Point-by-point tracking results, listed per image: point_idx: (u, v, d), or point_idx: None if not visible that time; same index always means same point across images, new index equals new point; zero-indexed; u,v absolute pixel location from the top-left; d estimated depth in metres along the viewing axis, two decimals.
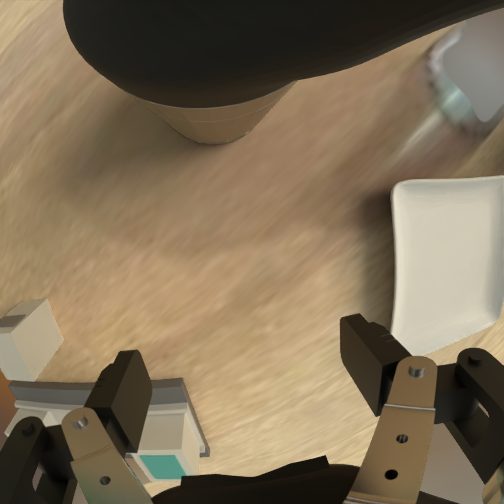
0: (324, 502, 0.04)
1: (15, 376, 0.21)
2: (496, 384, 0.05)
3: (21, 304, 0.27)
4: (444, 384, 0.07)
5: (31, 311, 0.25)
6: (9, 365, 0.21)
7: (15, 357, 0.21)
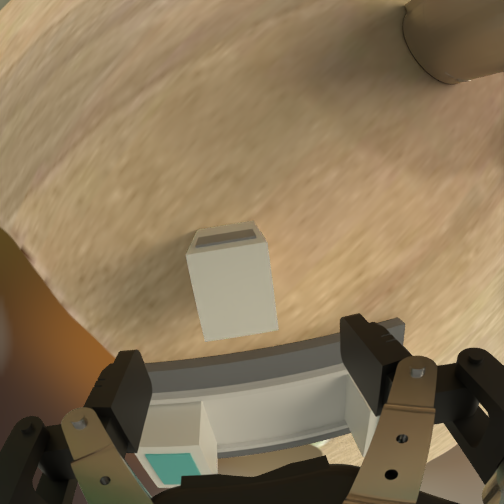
0: (324, 502, 0.04)
1: (234, 329, 0.18)
2: (496, 384, 0.05)
3: (207, 229, 0.23)
4: (444, 384, 0.07)
5: (253, 228, 0.21)
6: (231, 309, 0.17)
7: (254, 290, 0.17)
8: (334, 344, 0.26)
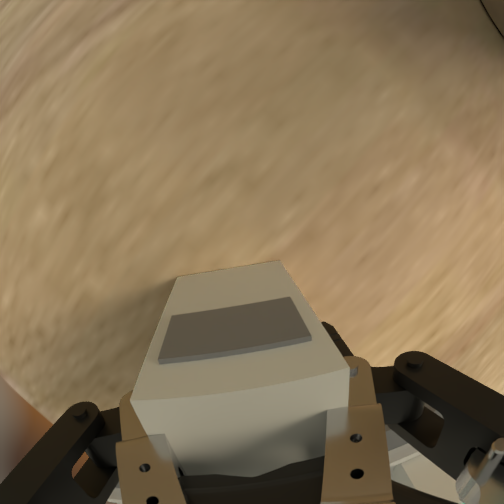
0: None
1: None
2: (443, 384, 0.06)
3: (194, 281, 0.12)
4: (379, 386, 0.07)
5: (288, 288, 0.10)
6: None
7: (303, 456, 0.06)
8: (388, 432, 0.15)
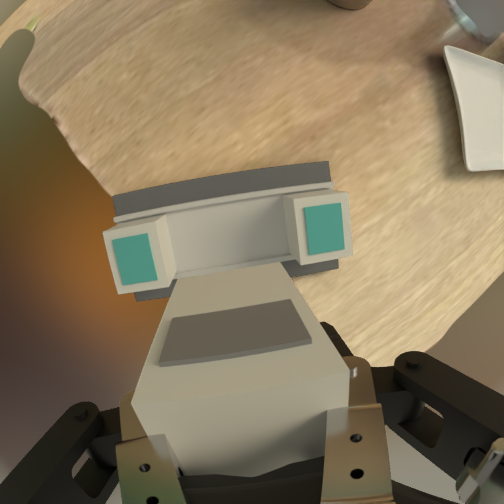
0: None
1: None
2: (443, 384, 0.06)
3: (194, 282, 0.12)
4: (379, 386, 0.07)
5: (288, 290, 0.10)
6: None
7: (304, 458, 0.06)
8: (268, 169, 0.36)
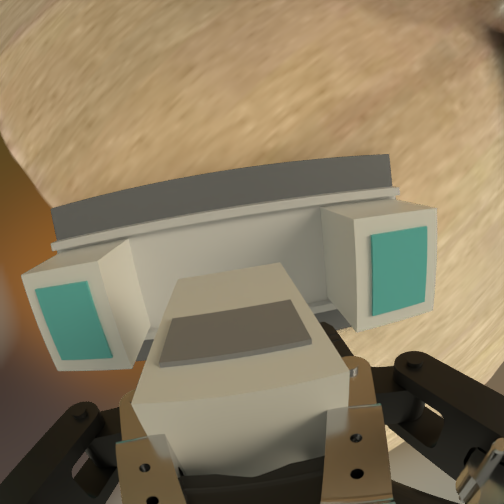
0: None
1: None
2: (443, 384, 0.06)
3: (194, 283, 0.12)
4: (379, 386, 0.07)
5: (289, 291, 0.10)
6: None
7: (303, 459, 0.06)
8: (298, 163, 0.21)
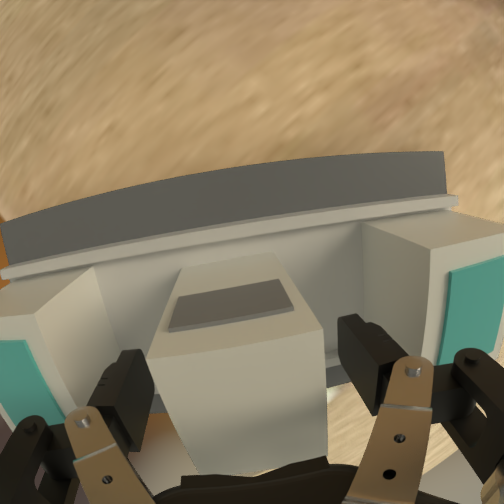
0: (324, 502, 0.04)
1: (251, 464, 0.08)
2: (493, 384, 0.05)
3: (197, 270, 0.14)
4: (440, 384, 0.07)
5: (278, 273, 0.12)
6: (245, 441, 0.08)
7: (291, 413, 0.08)
8: (331, 159, 0.15)
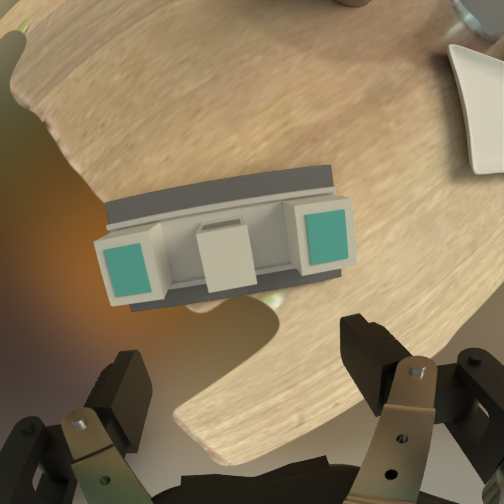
0: (324, 502, 0.04)
1: (227, 283, 0.28)
2: (496, 384, 0.05)
3: (208, 221, 0.33)
4: (444, 384, 0.07)
5: (240, 218, 0.31)
6: (225, 269, 0.27)
7: (240, 256, 0.27)
8: (267, 173, 0.34)
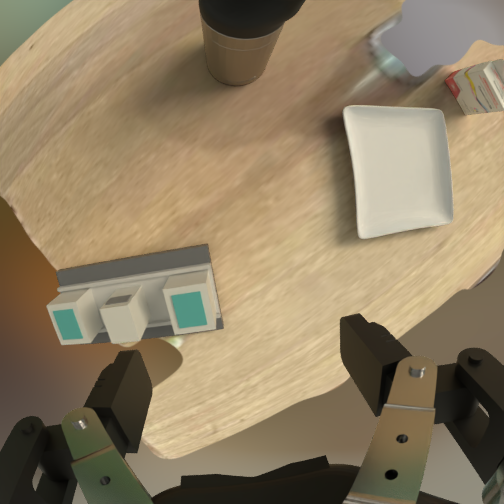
0: (324, 502, 0.04)
1: (122, 339, 0.39)
2: (496, 384, 0.05)
3: (119, 290, 0.44)
4: (444, 384, 0.07)
5: (134, 292, 0.42)
6: (119, 330, 0.38)
7: (126, 324, 0.38)
8: (158, 255, 0.45)
